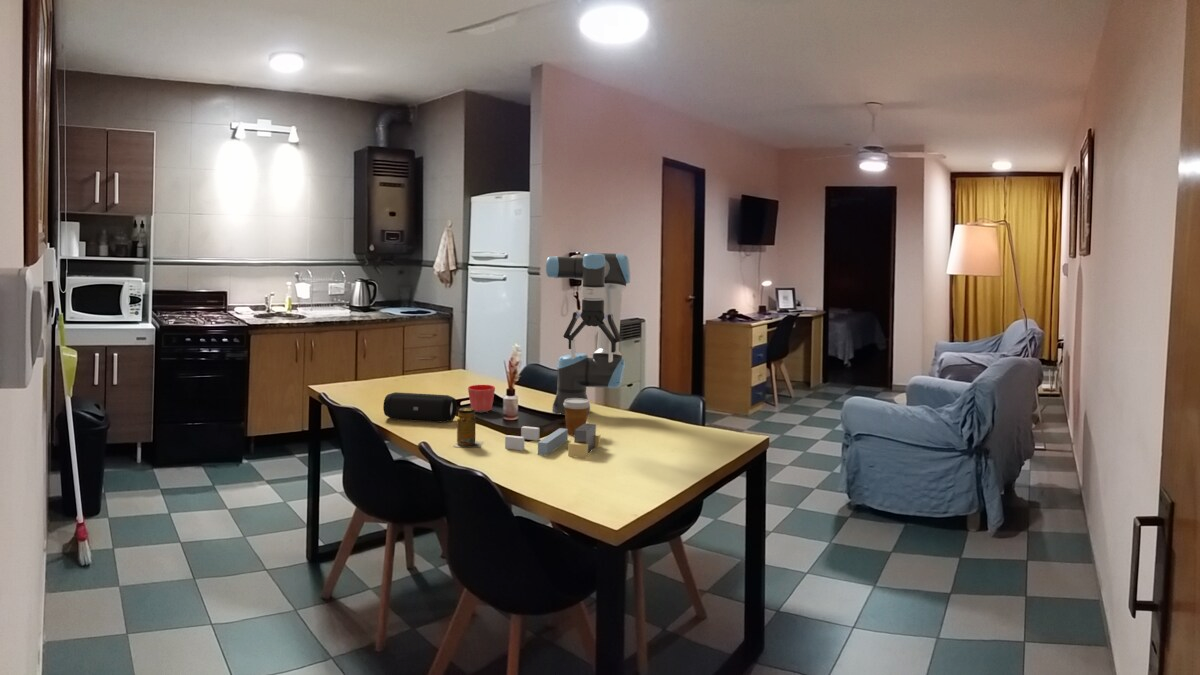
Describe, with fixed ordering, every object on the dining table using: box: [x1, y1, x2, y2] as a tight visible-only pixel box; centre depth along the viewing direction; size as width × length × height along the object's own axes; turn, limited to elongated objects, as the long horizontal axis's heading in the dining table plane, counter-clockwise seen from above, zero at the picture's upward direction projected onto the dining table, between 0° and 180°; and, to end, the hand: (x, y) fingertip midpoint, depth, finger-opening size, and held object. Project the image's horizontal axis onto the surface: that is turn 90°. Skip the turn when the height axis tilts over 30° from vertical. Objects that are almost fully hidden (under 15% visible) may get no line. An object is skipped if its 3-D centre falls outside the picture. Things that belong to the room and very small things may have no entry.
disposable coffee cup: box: [563, 398, 591, 437], centre depth 268 cm, size 10×10×12 cm
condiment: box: [453, 407, 484, 448], centre depth 250 cm, size 7×8×12 cm
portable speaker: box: [382, 392, 458, 423], centre depth 281 cm, size 26×10×10 cm, turn 83°
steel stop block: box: [573, 422, 597, 454], centre depth 247 cm, size 10×4×8 cm, turn 163°
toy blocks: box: [504, 425, 601, 459], centre depth 250 cm, size 20×28×4 cm
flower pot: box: [467, 384, 496, 411], centre depth 299 cm, size 11×11×10 cm
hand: (591, 360), depth 260 cm, fingers open, 13 cm apart
